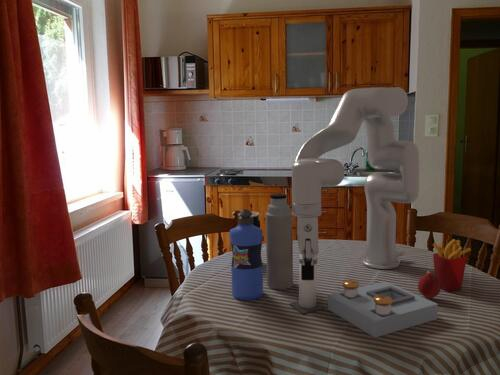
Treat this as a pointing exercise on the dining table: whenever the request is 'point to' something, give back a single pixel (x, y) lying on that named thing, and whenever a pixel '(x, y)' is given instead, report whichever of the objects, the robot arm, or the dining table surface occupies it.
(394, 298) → the housing
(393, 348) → the dining table surface
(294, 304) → the pad
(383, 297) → the plunger
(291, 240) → the thermos bottle
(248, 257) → the water bottle
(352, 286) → the plunger
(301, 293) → the cartridge
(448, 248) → the french fries
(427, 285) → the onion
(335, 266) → the dining table surface
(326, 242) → the dining table surface
